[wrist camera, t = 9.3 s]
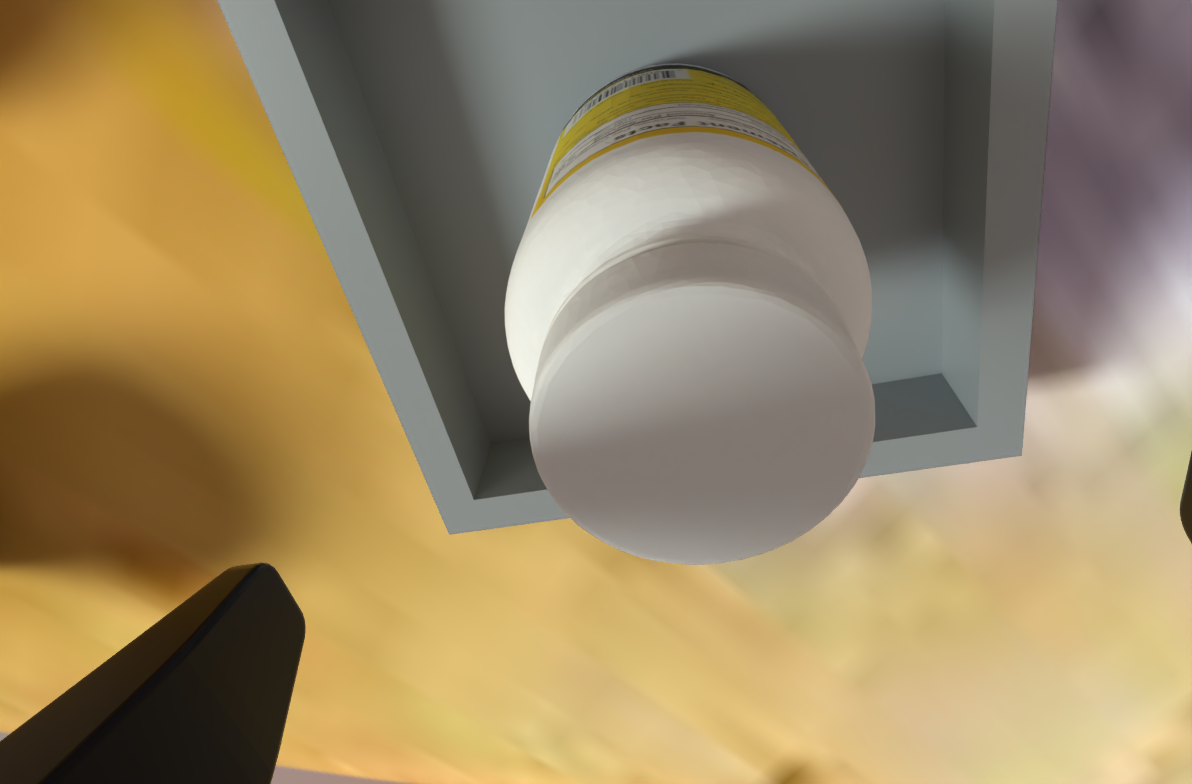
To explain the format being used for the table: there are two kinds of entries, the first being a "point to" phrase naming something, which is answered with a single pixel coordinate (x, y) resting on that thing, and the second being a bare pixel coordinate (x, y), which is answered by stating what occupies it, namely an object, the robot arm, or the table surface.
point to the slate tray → (530, 132)
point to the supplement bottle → (690, 324)
